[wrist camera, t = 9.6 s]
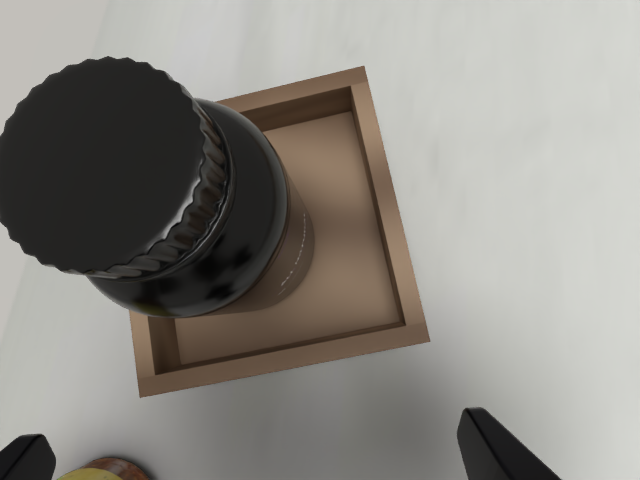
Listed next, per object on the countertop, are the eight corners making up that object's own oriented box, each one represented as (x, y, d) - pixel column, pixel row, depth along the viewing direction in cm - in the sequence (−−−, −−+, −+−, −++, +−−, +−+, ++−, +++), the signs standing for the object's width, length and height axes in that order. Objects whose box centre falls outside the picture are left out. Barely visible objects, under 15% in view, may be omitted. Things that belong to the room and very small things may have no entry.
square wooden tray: (411, 329, 21) (430, 341, 16) (193, 372, 22) (139, 397, 17) (362, 119, 23) (364, 65, 18) (163, 165, 24) (107, 128, 19)
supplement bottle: (335, 285, 19) (300, 270, 7) (206, 329, 19) (-31, 383, 8) (293, 159, 20) (201, -33, 8) (171, 202, 20) (-83, 76, 9)
